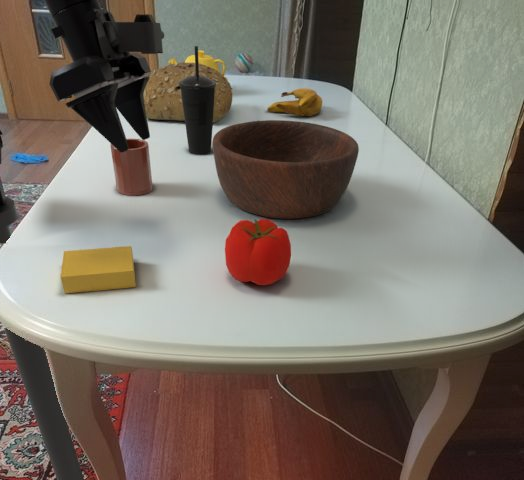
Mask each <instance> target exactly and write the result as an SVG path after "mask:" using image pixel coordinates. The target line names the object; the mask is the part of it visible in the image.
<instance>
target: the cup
mask: <svg viewBox="0 0 524 480" xmlns="http://www.w3.org/2000/svg"><path fill="white" fill-rule="evenodd" d="M126 140H127V144H128V147H129V149H128V150H127V151H125V152H120V151H119V150H117V149H116V148H115V147H114V146H113V145H112V144H111V143H110V150H111V151H110V152H111V159H112V166H113V172H114V179H115V187H116V191H117V192H118V193H119V194H121V195H124V196H141V195H142V196H143V195H146V194H148V193H151V192H152V191H153V179H152V178H153V177H152V169H151V157H150V147H149V142H148V141H146V140H142V139H141V138H126Z"/></svg>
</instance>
